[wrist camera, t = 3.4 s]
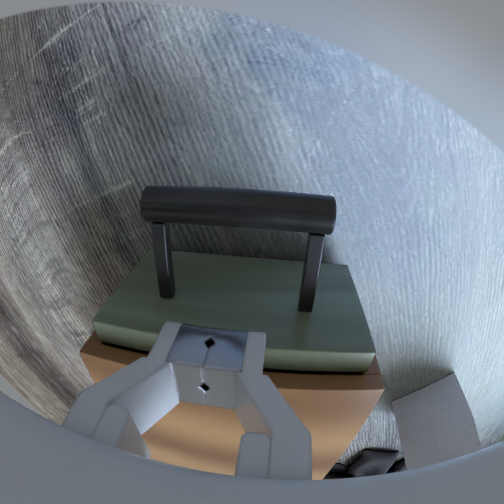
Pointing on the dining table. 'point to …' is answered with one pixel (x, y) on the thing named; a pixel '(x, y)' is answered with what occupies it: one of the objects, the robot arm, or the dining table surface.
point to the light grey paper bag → (435, 424)
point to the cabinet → (229, 426)
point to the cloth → (367, 466)
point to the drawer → (243, 282)
